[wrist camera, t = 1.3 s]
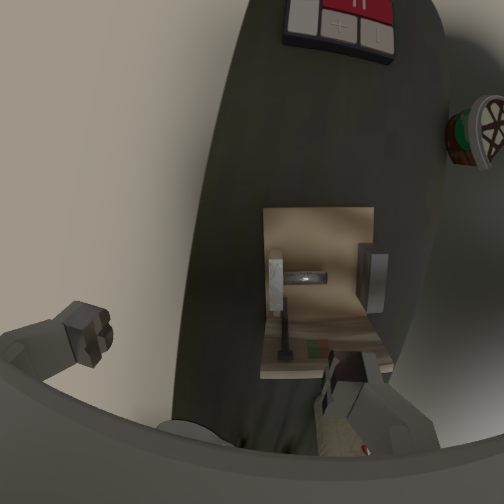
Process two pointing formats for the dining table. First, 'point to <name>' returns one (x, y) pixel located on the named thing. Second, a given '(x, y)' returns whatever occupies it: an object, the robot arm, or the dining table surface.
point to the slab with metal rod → (288, 279)
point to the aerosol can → (336, 435)
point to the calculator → (343, 27)
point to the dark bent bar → (285, 336)
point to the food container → (477, 133)
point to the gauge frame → (324, 287)
